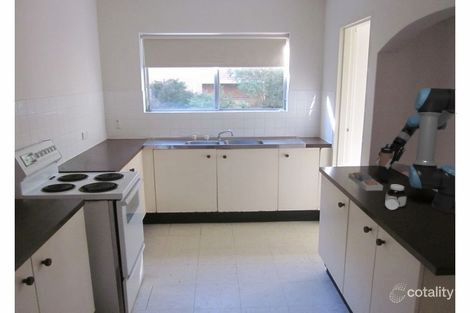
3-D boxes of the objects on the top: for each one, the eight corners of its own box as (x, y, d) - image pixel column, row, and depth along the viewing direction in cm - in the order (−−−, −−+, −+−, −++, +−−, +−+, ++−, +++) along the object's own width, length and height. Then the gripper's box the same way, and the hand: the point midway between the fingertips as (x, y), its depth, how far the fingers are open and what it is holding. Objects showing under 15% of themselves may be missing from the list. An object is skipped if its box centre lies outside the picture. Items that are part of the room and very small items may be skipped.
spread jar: (401, 203, 193) (404, 184, 191) (409, 211, 182) (412, 191, 180) (379, 202, 195) (381, 183, 192) (386, 210, 184) (388, 190, 181)
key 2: (377, 187, 217) (377, 183, 216) (368, 187, 216) (368, 183, 216) (373, 184, 223) (373, 180, 222) (364, 184, 222) (364, 180, 221)
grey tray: (382, 190, 215) (383, 185, 214) (365, 190, 215) (366, 185, 214) (363, 177, 242) (363, 172, 242) (348, 177, 242) (348, 172, 241)
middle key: (371, 181, 225) (371, 176, 224) (362, 181, 225) (362, 177, 224) (367, 178, 231) (367, 174, 230) (358, 178, 231) (358, 174, 230)
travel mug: (377, 178, 227) (380, 149, 222) (378, 175, 233) (381, 147, 229) (389, 180, 223) (393, 150, 219) (390, 177, 230) (393, 148, 225)
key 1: (365, 179, 234) (365, 174, 234) (356, 179, 234) (356, 175, 233) (361, 176, 240) (361, 172, 239) (353, 176, 240) (353, 172, 239)
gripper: (417, 146, 221) (396, 173, 218) (390, 140, 238) (371, 165, 235) (412, 139, 217) (391, 166, 214) (386, 134, 235) (366, 159, 232)
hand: (381, 166), depth 225 cm, fingers closed on travel mug, 7 cm apart
